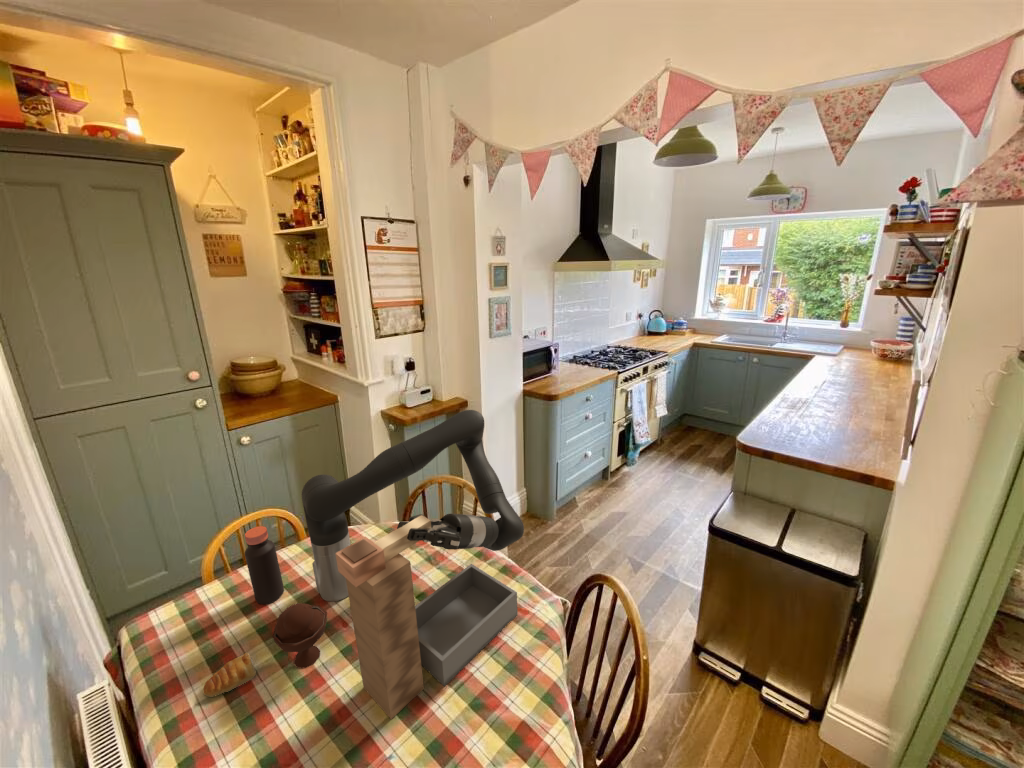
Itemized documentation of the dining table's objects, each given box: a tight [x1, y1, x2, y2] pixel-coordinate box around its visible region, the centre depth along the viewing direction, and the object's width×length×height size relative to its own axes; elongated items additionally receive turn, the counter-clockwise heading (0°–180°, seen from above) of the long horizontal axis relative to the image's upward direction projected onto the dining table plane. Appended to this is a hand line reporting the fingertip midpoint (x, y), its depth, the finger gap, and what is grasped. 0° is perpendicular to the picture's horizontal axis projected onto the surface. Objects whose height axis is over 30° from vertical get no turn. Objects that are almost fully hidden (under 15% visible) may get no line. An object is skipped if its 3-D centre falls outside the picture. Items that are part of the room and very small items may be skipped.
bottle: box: [244, 525, 285, 605], centre depth 112 cm, size 7×7×20 cm
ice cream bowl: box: [272, 602, 328, 669], centre depth 94 cm, size 11×11×15 cm
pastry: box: [203, 652, 257, 698], centre depth 91 cm, size 9×7×4 cm
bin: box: [415, 563, 518, 687], centre depth 102 cm, size 24×16×7 cm, turn 140°
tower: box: [346, 553, 425, 720], centre depth 85 cm, size 8×10×32 cm
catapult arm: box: [335, 514, 432, 587], centre depth 82 cm, size 18×6×4 cm, turn 140°
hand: (404, 530), depth 84 cm, fingers closed on catapult arm, 3 cm apart
